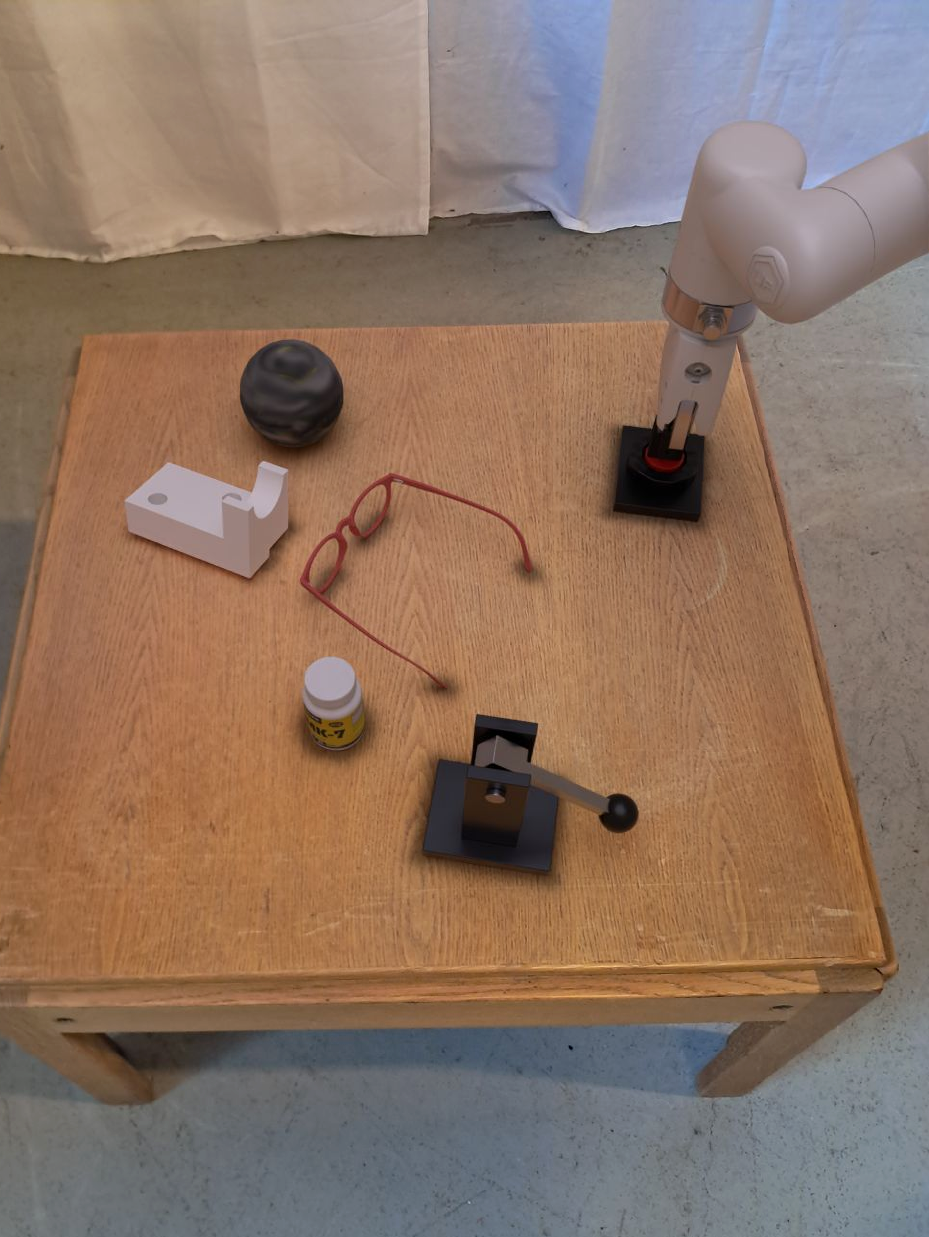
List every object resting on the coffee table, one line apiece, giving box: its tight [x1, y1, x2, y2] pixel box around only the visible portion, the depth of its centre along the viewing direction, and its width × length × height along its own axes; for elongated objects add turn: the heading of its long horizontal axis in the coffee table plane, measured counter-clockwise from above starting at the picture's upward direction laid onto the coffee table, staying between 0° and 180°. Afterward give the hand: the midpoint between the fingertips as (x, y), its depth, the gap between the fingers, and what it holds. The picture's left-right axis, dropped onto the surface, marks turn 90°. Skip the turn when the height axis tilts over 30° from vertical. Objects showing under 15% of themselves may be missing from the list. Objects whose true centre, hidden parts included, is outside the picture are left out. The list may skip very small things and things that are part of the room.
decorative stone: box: [239, 338, 344, 448], centre depth 98 cm, size 10×10×10 cm
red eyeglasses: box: [299, 472, 533, 689], centre depth 90 cm, size 17×16×5 cm
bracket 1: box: [124, 460, 290, 579], centre depth 93 cm, size 13×7×8 cm, turn 65°
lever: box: [474, 735, 640, 834], centre depth 74 cm, size 14×3×3 cm
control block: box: [612, 424, 706, 523], centre depth 97 cm, size 10×8×3 cm
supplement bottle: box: [301, 656, 366, 751], centre depth 82 cm, size 5×5×8 cm
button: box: [644, 447, 684, 473], centre depth 97 cm, size 4×4×2 cm
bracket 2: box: [421, 713, 560, 877], centre depth 76 cm, size 10×8×13 cm
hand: (664, 453), depth 96 cm, fingers closed
